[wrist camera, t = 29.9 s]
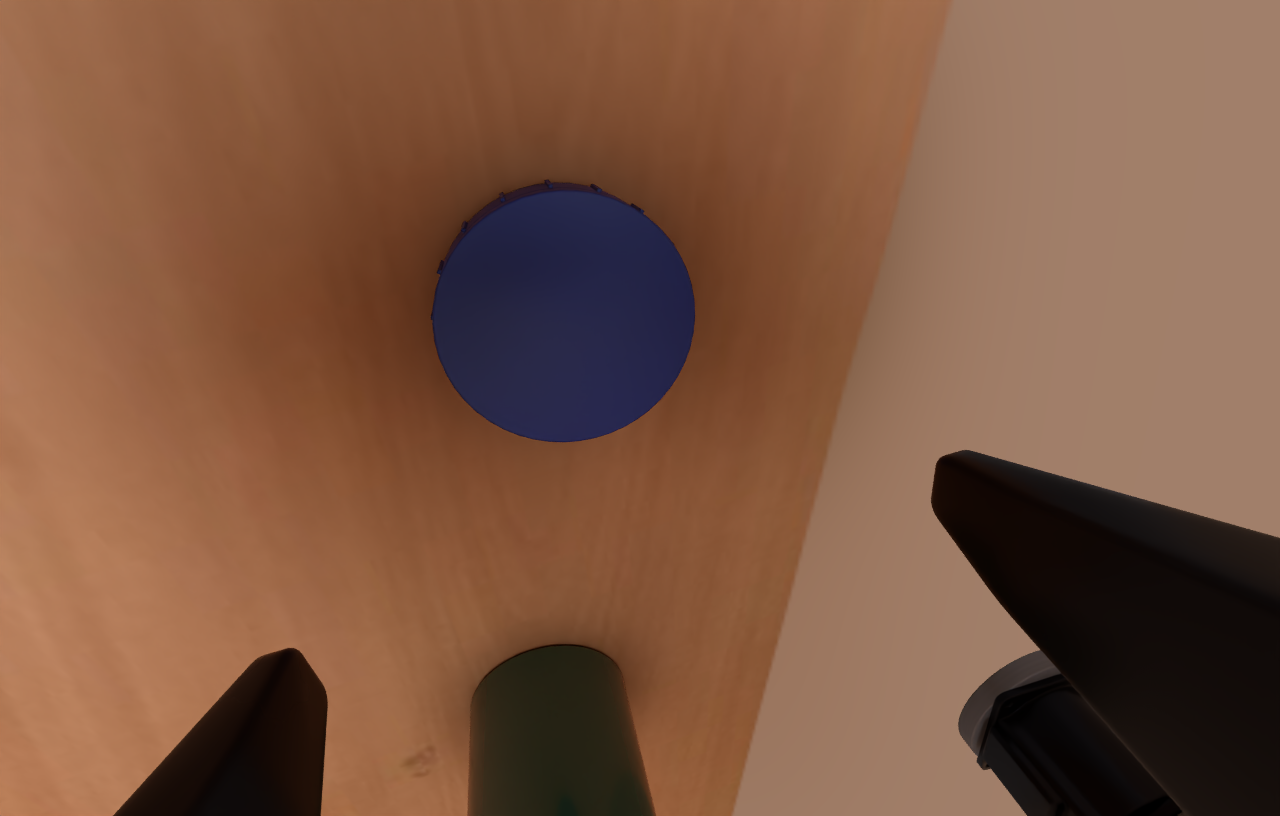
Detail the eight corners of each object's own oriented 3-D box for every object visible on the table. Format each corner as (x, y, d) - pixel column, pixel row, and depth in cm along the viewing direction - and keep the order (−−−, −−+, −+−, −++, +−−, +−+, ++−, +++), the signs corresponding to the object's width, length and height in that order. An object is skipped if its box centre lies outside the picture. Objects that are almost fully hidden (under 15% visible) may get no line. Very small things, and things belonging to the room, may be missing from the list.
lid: (723, 272, 17) (747, 288, 16) (594, 450, 19) (603, 480, 18) (521, 120, 14) (526, 120, 13) (389, 348, 16) (378, 373, 14)
